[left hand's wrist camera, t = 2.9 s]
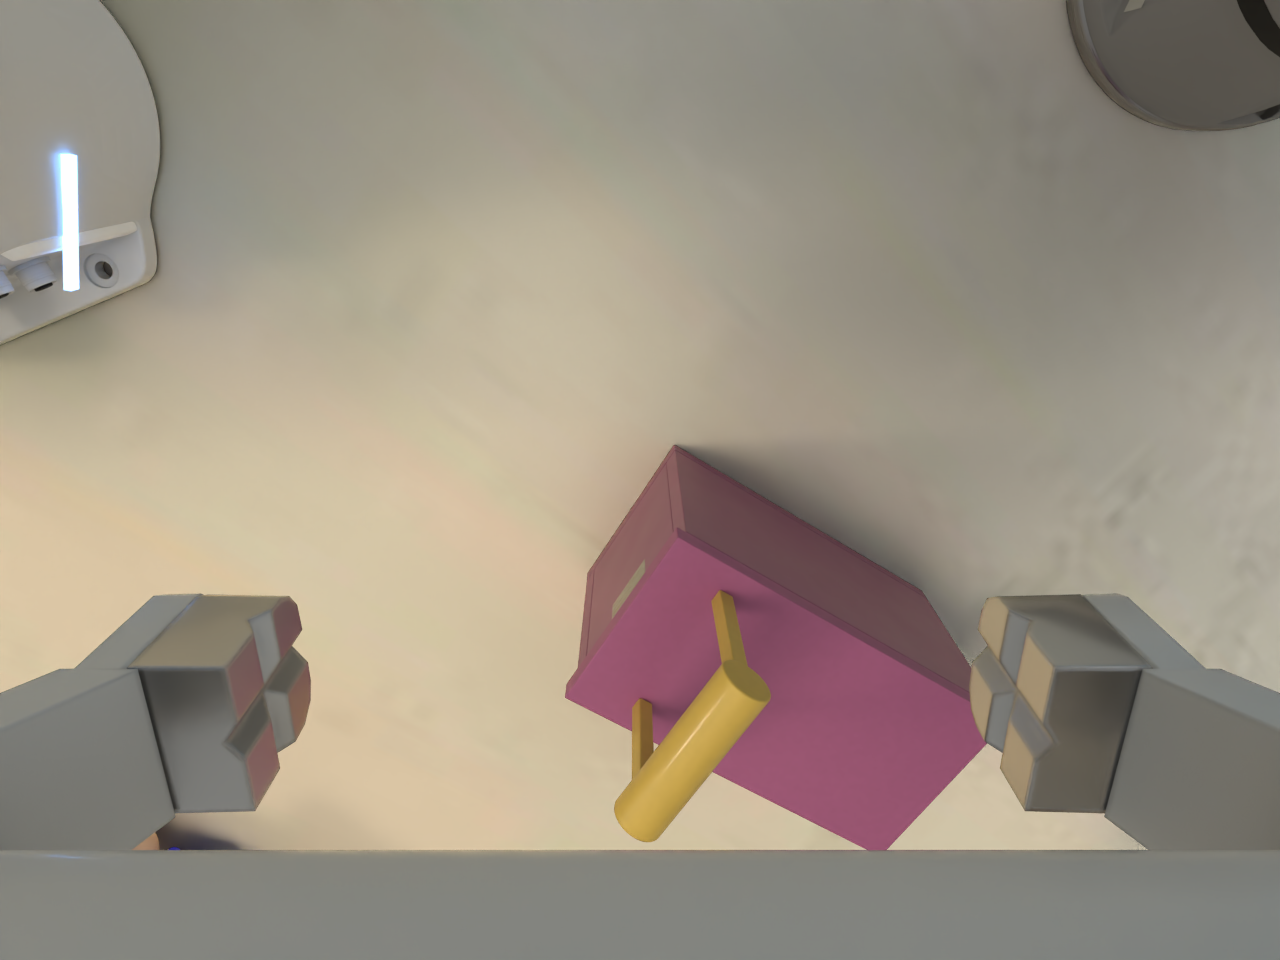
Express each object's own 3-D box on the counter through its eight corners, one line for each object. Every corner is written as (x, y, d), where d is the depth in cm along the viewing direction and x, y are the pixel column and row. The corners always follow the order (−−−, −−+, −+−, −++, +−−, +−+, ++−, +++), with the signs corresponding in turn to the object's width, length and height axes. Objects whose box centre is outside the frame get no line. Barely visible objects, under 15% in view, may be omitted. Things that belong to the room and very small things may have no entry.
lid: (566, 684, 39) (548, 823, 31) (676, 526, 36) (689, 634, 28) (874, 840, 43) (930, 1000, 35) (998, 709, 40) (1089, 850, 32)
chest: (587, 573, 50) (574, 688, 39) (674, 444, 47) (685, 531, 36) (827, 703, 53) (874, 840, 43) (922, 590, 50) (997, 708, 40)
